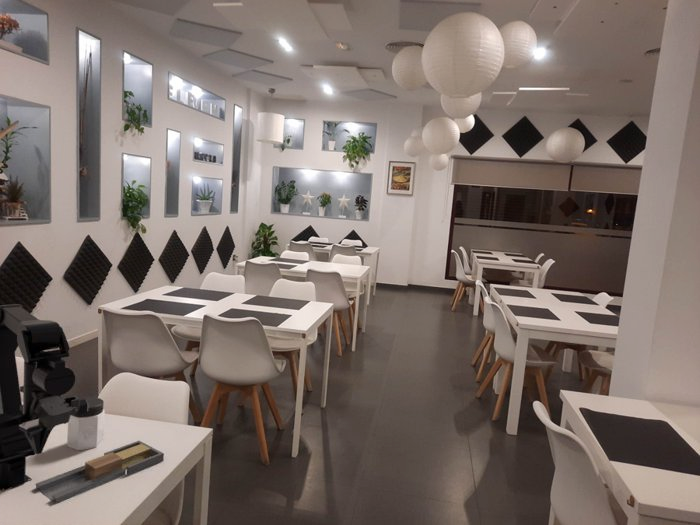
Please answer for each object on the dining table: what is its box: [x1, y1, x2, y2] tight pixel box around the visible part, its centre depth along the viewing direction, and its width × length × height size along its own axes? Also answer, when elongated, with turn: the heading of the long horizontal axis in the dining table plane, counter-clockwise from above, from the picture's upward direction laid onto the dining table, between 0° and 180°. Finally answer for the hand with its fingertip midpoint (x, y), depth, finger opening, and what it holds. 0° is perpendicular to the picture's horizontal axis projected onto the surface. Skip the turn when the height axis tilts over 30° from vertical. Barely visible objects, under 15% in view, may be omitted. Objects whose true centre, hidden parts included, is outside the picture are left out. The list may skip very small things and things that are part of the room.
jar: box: [66, 396, 106, 451], centre depth 138 cm, size 9×8×12 cm
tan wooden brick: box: [84, 452, 122, 479], centre depth 124 cm, size 4×7×3 cm, turn 146°
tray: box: [103, 440, 165, 476], centre depth 131 cm, size 11×10×3 cm
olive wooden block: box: [115, 449, 137, 470], centre depth 128 cm, size 4×4×3 cm
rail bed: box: [35, 464, 127, 504], centre depth 119 cm, size 9×16×2 cm, turn 147°
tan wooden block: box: [129, 444, 151, 463], centre depth 132 cm, size 4×4×3 cm
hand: (38, 453), depth 106 cm, fingers closed
